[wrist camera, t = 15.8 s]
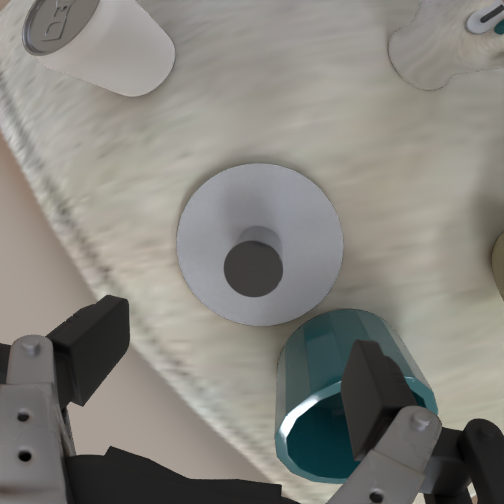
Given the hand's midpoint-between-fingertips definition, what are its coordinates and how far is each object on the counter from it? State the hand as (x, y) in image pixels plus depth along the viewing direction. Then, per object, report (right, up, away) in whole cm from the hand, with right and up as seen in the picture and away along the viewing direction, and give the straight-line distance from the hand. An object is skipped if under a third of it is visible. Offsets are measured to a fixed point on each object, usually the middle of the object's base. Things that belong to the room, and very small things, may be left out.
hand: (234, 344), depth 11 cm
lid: (+1, +3, +14) cm, 15 cm away
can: (-9, +19, +12) cm, 24 cm away
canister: (+9, -7, +17) cm, 20 cm away
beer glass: (+15, +19, +10) cm, 26 cm away
